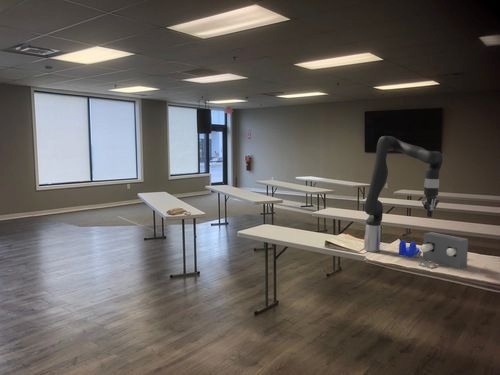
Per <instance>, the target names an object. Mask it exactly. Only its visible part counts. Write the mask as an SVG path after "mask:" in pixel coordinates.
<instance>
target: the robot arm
mask: <svg viewBox="0 0 500 375" xmlns="http://www.w3.org/2000/svg"><path fill="white" fill-rule="evenodd" d="M388 152H398V153H403V154H404V155H406V156H408V157H410V158H413V159H416V160H419V161H421V162H423V163H424V164H428V165H429V167H427V169H425V175H424V176H425V178H424V184H423V195H425V197H424V200H422V201H421V203H422V205H423V207H424V210H426V211H427V212H426V216H427V217H428V218H431V217H433V212H434V210H436V208H437V206H438V204H439V202H440V200H439V199H437V196H439V191H440V190H439V189H440V171H441V168H442V164H443V161H444V160H443V154H442V152H440V151H438V150H437V151H436V150H435V151H430V150H427V149H425V148H423V147H421V146H417V145H413V144H410V143H407V142H404V141H402V140H400V139H398V138H396V137H394V136H392V135H391V136H390V135H384V136H383V135H382V136H381V137H379V139H378V141H377V144H376V152H375V159H374V160H375V161H374V165H373V170H372V174H371V180H370V184H369V188H368V193H367V196H366V199H365V203H364V205H363V206H364V207H363V208H364V212H365V214H367V215H368V217H367V219H366V220H365V234H364V236H363V237H364V242H363V245H364V246H363V249H364V250H365V251H366V252H370V253H371V252H372V253H373V252H374V253H375V252H376V253H377V252H380V250H381V229H382V228H381V227H382V226H381V225H382V221H383V214H384V208H383V207H384V206H383V203H382V202H381V200H379V197H380V194H381V192H382V191H383V189H384V188H385V185H386V183H387V180H388V174H389V168H388V165H387V164H388V163H387V156H388Z"/></svg>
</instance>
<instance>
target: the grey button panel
mask: <svg viewBox="0 0 500 375" xmlns="http://www.w3.org/2000/svg"><path fill="white" fill-rule="evenodd" d="M429 243H434V244H435V246H434V250H430V251H427V252H423V251H422V260H423V261H425V262H429V261H431V262H430V263H433V262H434V264H437V263H438V265H442V266H445V267H449V268H453V269H457V270H462V269H464V268H467V265H468V250H469V248H468V247H469V239H468V238H464V237H460V236H453V235H448V234H443V233H438V232H432V231H430V232H426V233H423V243H422V245H424V244H429ZM448 248H457V251H456V255H453V256H449V255H448V254H447V252H446V251H447V249H448Z"/></svg>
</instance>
